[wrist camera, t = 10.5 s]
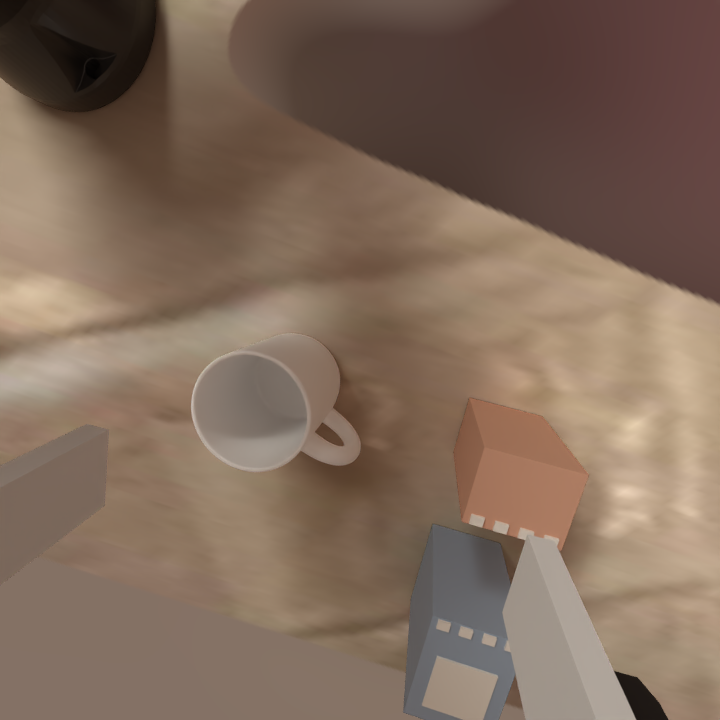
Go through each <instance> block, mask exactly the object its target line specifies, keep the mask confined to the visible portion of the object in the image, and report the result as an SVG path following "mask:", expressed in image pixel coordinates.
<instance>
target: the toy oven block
mask: <svg viewBox="0 0 720 720" xmlns="http://www.w3.org/2000/svg"><path fill="white" fill-rule="evenodd" d="M510 587H511V583H510V580H509V576H508V572H507V568H506V564H505V560H504V556H503V552H502V548H501V544H500V543H497V542H494V541H490V540H487V539H484V538H480V537H477V536H473V535H470V534H466V533H463V532H460V531H456V530H453V529H449V528H446V527H442V526H439V525H436V524H432V528H431V531H430V535H429V538H428V542H427V545H426V549H425V552H424V555H423V559H422V562H421V566H420V569H419V573H418V576H417V580H416V583H415V587H414V590H413V593H412V597H411V604H410V619H409V634H408V649H407V665H406V680H405V695H404V710H403V712H404V713H406V714H409V715H412V716H415V717H418V718H421V719H424V720H499V718H500V715H501V712H502V710H503V707H504V704H505V702H506V699H507V696H508V693H509V691H510V688H511V685H512V682H513V680H514V677H515V669H514V665H513V660H512V656H511V651H510V646H509V642H508V637H507V632H506V628H505V623H504V619H503V614H502V611H503V608H504V605H505V602H506V599H507V596H508V593H509V590H510Z"/></svg>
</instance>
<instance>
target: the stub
mask: <svg viewBox="0 0 720 720" xmlns="http://www.w3.org/2000/svg"><path fill="white" fill-rule="evenodd" d="M453 453H454V461H455V469H456V478H457V486H458V494H459V502H460V511H461V519H462V522H464V523H468V524H471V525H474V526H478V527H481V528H485V529H489V530H492V531H495V532H498V533H502V534H505V535H509V536H513V537H516V538H519V539H523V540H526V537H527V534H528V535H532V536H536V537H540V538H544V539H548V540H552V541H555V543H556V546H557V548H558V550H561V551H562V548H563V545H564V542H565V540H566V537H567V534H568V531H569V529H570V526H571V523H572V521H573V518H574V515H575V512H576V510H577V507H578V504H579V501H580V499H581V496H582V493H583V490H584V488H585V485H586V482H587V480H588V477H589V474H588V473H587V472H586V471H585V469H584V468H583V467H582V466H581V464H580V463H579V462H578V461H577V459H576V458H575V457H574V456H573V454H572V453H571V452H570V450H569V449H568V448H567V447H566V445H565V444H564V443H563V442H562V440H561V439H560V438H559V437H558V435H557V434H556V433H555V432H554V430H553V429H552V428H551V426H550V425H549V424H548V423H547V421H546V420H545V419H544V418H543V416H539V415H535V414H531V413H527V412H523V411H519V410H515V409H512V408H508V407H504V406H500V405H496V404H492V403H488V402H484V401H480V400H477V399H473V398H469V401H468V404H467V408H466V411H465V414H464V418H463V421H462V425H461V428H460V432H459V435H458V439H457V442H456V446H455V449H454V452H453Z"/></svg>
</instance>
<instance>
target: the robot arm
mask: <svg viewBox="0 0 720 720" xmlns="http://www.w3.org/2000/svg"><path fill="white" fill-rule="evenodd" d="M155 17H156V7H155V0H0V77H1V78H2V79H3V80H4V81H5V82H6V83H8V84H9V85H10V86H12V87H13V88H15V89H16V90H18V91H19V92H21V93H23V94H24V95H26V96H28V97H30V98H33V99H35V100H37V101H39V102H42V103H44V104H46V105H48V106H51V107H53V108H56V109H60V110H64V111H72V112H81V111H89V110H93V109H97V108H99V107H102V106H104V105H106V104H108V103H110V102H112V101H113V100H115V99H116V98H118V97H119V96H120V95H121V94H122V93H124V92H125V91H126V90H127V89H128V88H129V86H130V85H131V84H132V83H133V82H134V80H135V79H136V77H137V76H138V74H139V73H140V71H141V69H142V67H143V65H144V63H145V61H146V59H147V56H148V54H149V51H150V48H151V44H152V40H153V35H154V28H155ZM108 436H109V429H105V428H101V427H97V426H93V425H89V424H86V425H84V426H82V427H80V428H77V429H75V430H73V431H71V432H69V433H67V434H65V435H63V436H61V437H59V438H57V439H55V440H53V441H51V442H48V443H46V444H44V445H42V446H40V447H38V448H36V449H34V450H32V451H30V452H28V453H26V454H24V455H22V456H19V457H17V458H15V459H13V460H11V461H9V462H7V463H5V464H3V465H1V466H0V585H2V584H3V583H4V582H5V581H7V580H8V579H9V578H11V577H12V576H13V575H14V574H16V573H17V572H19V571H20V570H21V569H22V568H24V567H25V566H26V565H28V564H29V563H30V562H32V561H33V560H34V559H36V558H37V557H38V556H40V555H41V554H42V553H43V552H45V551H46V550H47V549H49V548H50V547H51V546H53V545H54V544H55V543H57V542H58V541H59V540H60V539H62V538H63V537H64V536H66V535H67V534H68V533H70V532H71V531H72V530H74V529H75V528H76V527H77V526H79V525H80V524H81V523H83V522H84V521H85V520H87V519H88V518H89V517H91V516H92V515H93V514H94V513H96V512H97V511H98V510H100V509H101V508H102V507H104V506H105V492H106V473H107V455H108ZM502 614H503V619H504V623H505V628H506V632H507V637H508V642H509V646H510V651H511V656H512V660H513V665H514V669H515V674H516V679H517V683H518V688H519V692H520V697H521V702H522V706H523V711H524V715H525V720H668V718H667V716H666V715H665V713H664V711H663V709H662V707H661V705H660V703H659V702H658V701H657V700H656V699H655V697H654V696H653V695H652V694H651V693H650V692H649V690H648V689H647V688H646V687H645V686H644V685H643V683H642V682H641V681H640V680H639V679H638V678H637V677H634V676H630V675H626V674H623V673H619V672H615V671H614V670H613V668H612V666H611V664H610V661H609V659H608V657H607V655H606V653H605V650H604V648H603V646H602V644H601V642H600V640H599V637H598V635H597V633H596V631H595V629H594V626H593V624H592V622H591V620H590V618H589V616H588V613H587V611H586V609H585V607H584V605H583V602H582V600H581V598H580V596H579V594H578V591H577V589H576V587H575V585H574V583H573V581H572V578H571V576H570V574H569V572H568V570H567V567H566V565H565V563H564V561H563V559H562V557H561V554H560V552H559V550H558V548H557V546H556V543H555V541H552V540H548V539H544V538H540V537H536V536H532V535H528V534H527V537H526V540H525V543H524V546H523V550H522V553H521V556H520V559H519V562H518V565H517V568H516V571H515V574H514V577H513V580H512V584H511V587H510V590H509V593H508V596H507V599H506V602H505V605H504V608H503V611H502Z"/></svg>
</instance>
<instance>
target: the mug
mask: <svg viewBox="0 0 720 720" xmlns="http://www.w3.org/2000/svg"><path fill="white" fill-rule="evenodd" d="M339 390H340V373H339V369H338V366H337V363H336V361H335V359H334V357H333V356H332V354H331V353H330V351H329V350H328V349H327V348H326V347H325V346H324V345H323V344H322V343H320V342H319V341H317V340H316V339H314V338H312V337H309V336H306V335H303V334H298V333H285V334H280V335H276V336H273V337H270V338H267V339H265V340H262V341H259V342H257V343H254V344H251V345H248V346H246V347H243V348H240V349H238V350H235V351H232V352H230V353H227V354H224V355H222V356H220V357H218V358H217V359H215V360H214V361H212V362H211V363H210V364H209V365H208V366H207V367H206V368H205V369H204V370H203V371H202V373H201V374H200V376H199V378H198V379H197V381H196V384H195V386H194V389H193V393H192V400H191V412H192V419H193V423H194V426H195V429H196V431H197V434H198V435H199V437H200V439H201V441H202V442H203V444H204V445H205V446H206V448H207V449H208V450H209V451H210V452H211V453H212V454H213V455H214V456H215V457H216V458H218V459H219V460H221V461H222V462H223V463H225V464H227V465H229V466H231V467H234V468H236V469H239V470H243V471H249V472H264V471H270V470H274V469H277V468H279V467H281V466H284V465H285V464H287V463H288V462H290V461H291V460H292V459H293V458H295V457H296V456H297V454H298V453H299V452H300V451H302V452H304V453H305V454H307V455H309V456H310V457H312V458H314V459H316V460H318V461H321V462H324V463H327V464H331V465H337V466H342V465H347V464H350V463H352V462H353V461H354V460H355V459H357V457H358V456H359V454H360V450H361V442H360V439H359V436H358V434H357V432H356V431H355V429H354V428H353V426H352V425H351V424H350V423H349V422H348V421H347V420H346V419H345V418H344V417H343V416H342V415H341V414H340V413H338V412H337V411H336V410H335V409H334V408H333V406H334V404H335V402H336V400H337V397H338V394H339ZM322 422H323V423H324V424H325V425H327V426H328V427H329V428H331V429H332V430H333V431H334V432H335V433H336V434H337V435H338V436H339V437H340V438H341V439H342V441H343V443H344V446H337V445H334V444H332V443H330V442H328V441H326V440H325V439H323V438H322V437H321V436H319V435H318V434H317V433H315V431H316V430H317V429H318V427H319V426H320V425H321V423H322Z"/></svg>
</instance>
